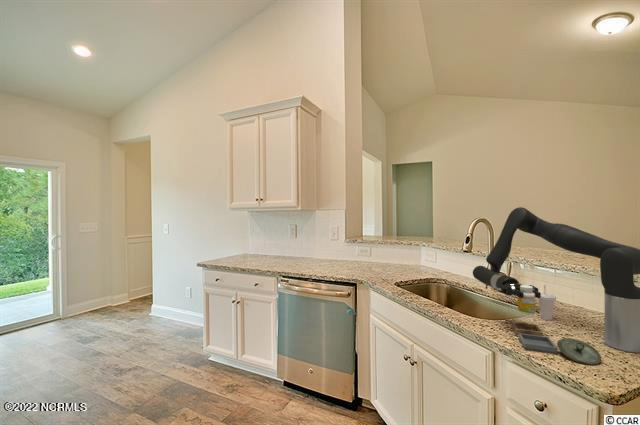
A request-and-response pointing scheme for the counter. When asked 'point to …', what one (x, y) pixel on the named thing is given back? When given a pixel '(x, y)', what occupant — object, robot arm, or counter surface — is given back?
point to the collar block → (526, 326)
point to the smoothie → (546, 305)
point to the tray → (537, 343)
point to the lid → (579, 351)
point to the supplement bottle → (527, 300)
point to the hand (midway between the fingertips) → (530, 295)
